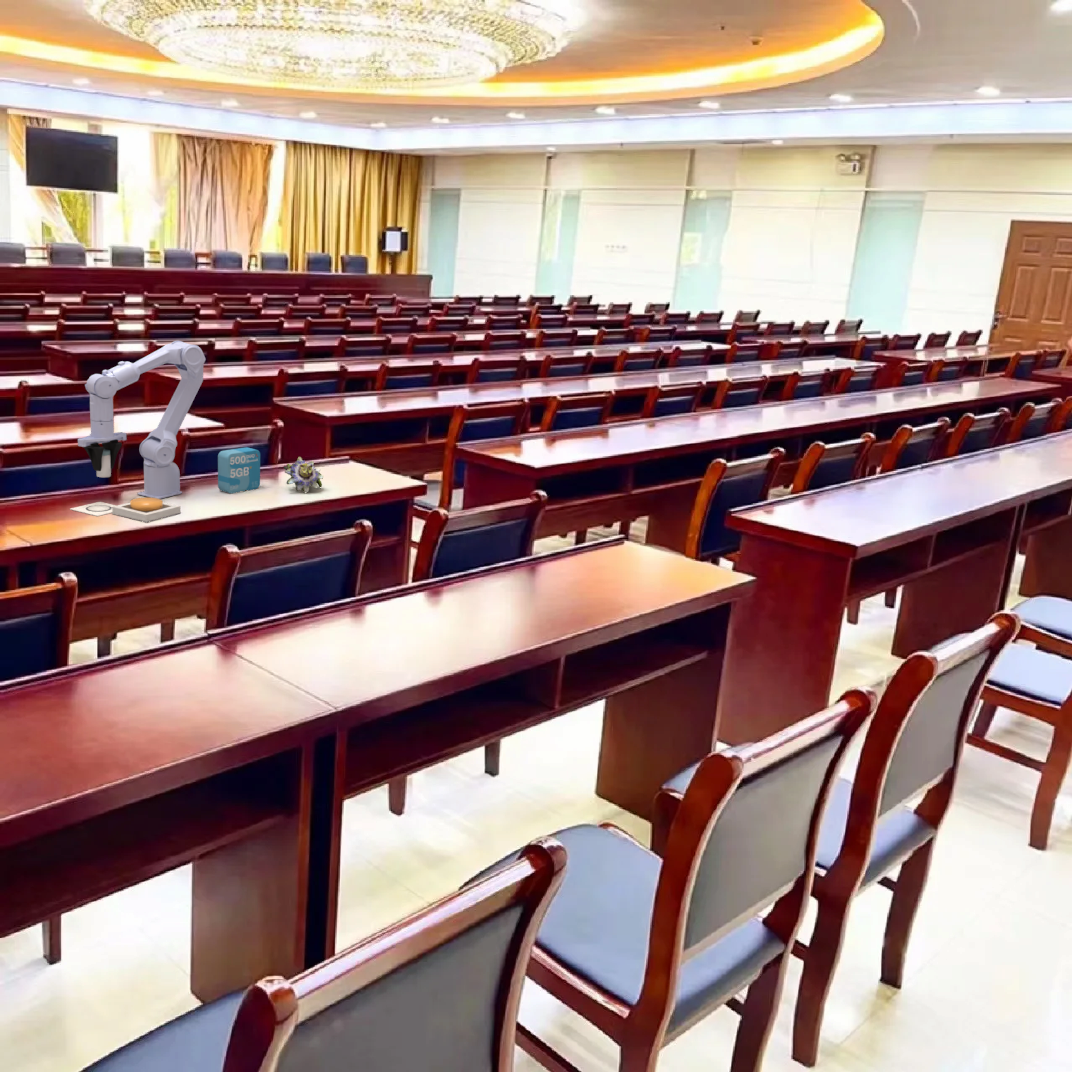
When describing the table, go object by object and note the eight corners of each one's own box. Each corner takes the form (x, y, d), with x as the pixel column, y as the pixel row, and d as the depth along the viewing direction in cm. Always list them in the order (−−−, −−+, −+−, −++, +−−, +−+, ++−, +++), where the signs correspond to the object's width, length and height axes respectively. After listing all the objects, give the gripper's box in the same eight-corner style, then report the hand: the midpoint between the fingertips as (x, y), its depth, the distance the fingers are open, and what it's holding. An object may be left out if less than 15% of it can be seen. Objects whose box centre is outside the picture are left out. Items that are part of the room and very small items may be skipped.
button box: (147, 505, 284) (146, 498, 283) (180, 513, 279) (180, 506, 278) (112, 514, 273) (112, 506, 272) (146, 522, 268) (146, 515, 268)
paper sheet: (100, 502, 283) (100, 501, 283) (127, 508, 279) (127, 507, 279) (69, 509, 274) (69, 508, 274) (97, 516, 270) (97, 515, 270)
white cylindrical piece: (104, 473, 285) (103, 448, 283) (113, 475, 283) (113, 450, 281) (93, 475, 281) (92, 450, 279) (103, 478, 280) (102, 452, 278)
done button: (146, 501, 280) (146, 495, 280) (169, 507, 277) (169, 501, 277) (123, 507, 273) (123, 501, 273) (146, 512, 270) (146, 506, 270)
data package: (227, 494, 301) (227, 454, 298) (217, 491, 304) (217, 451, 301) (260, 488, 311) (260, 449, 308) (250, 485, 313) (250, 446, 310)
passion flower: (305, 510, 312) (288, 482, 303) (287, 495, 319) (270, 468, 310) (334, 487, 315) (319, 459, 307) (316, 473, 322) (300, 445, 314)
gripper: (112, 414, 286) (114, 462, 290) (68, 420, 273) (70, 470, 277) (131, 418, 283) (132, 466, 287) (88, 424, 270) (89, 475, 274)
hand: (103, 469), depth 282 cm, fingers closed on white cylindrical piece, 4 cm apart
